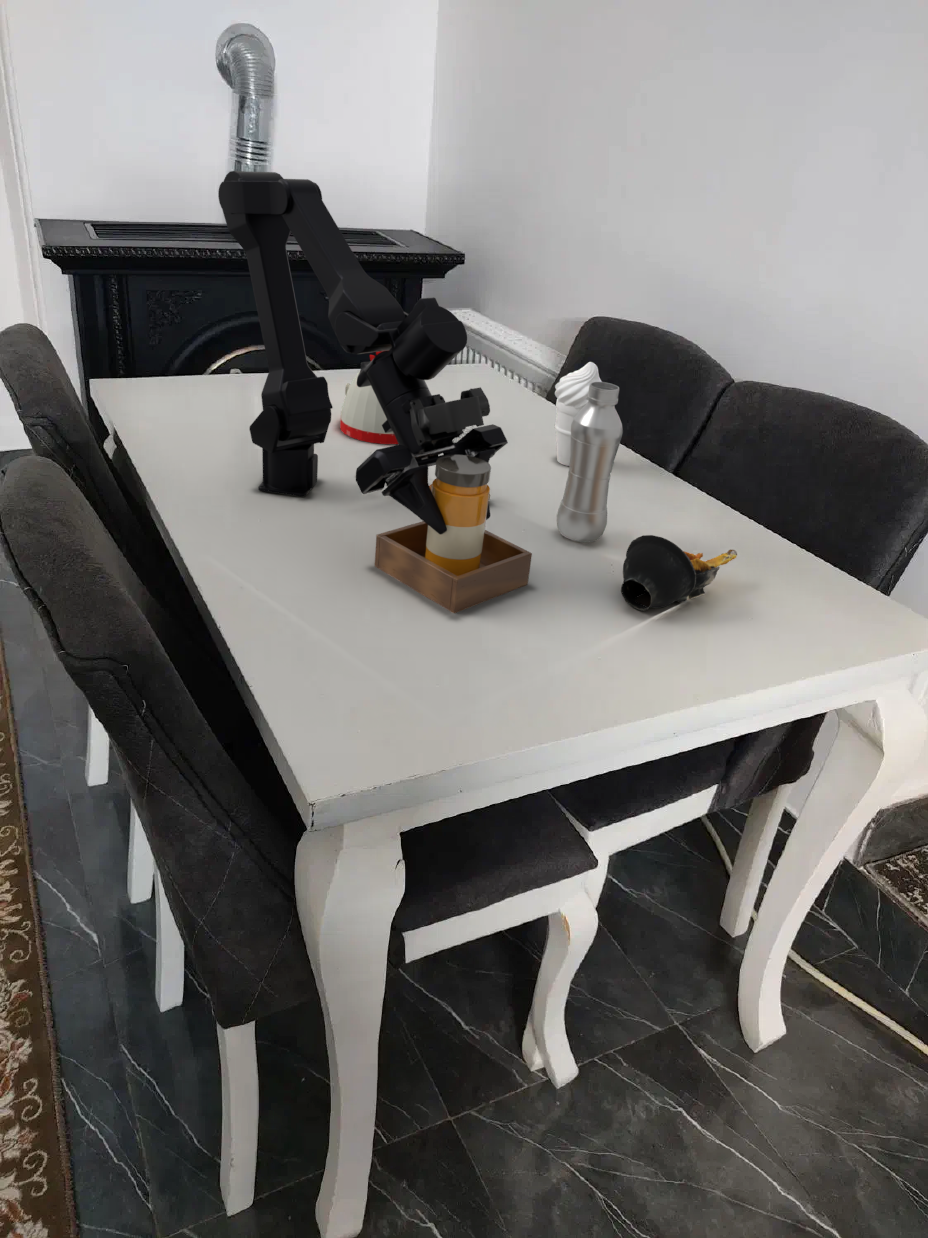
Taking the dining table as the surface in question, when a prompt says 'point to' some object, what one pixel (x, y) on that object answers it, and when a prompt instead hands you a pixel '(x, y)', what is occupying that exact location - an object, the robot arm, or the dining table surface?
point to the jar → (459, 513)
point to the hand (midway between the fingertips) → (465, 525)
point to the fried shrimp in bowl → (666, 572)
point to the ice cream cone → (571, 405)
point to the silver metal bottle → (590, 465)
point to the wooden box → (407, 564)
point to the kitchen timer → (364, 414)
